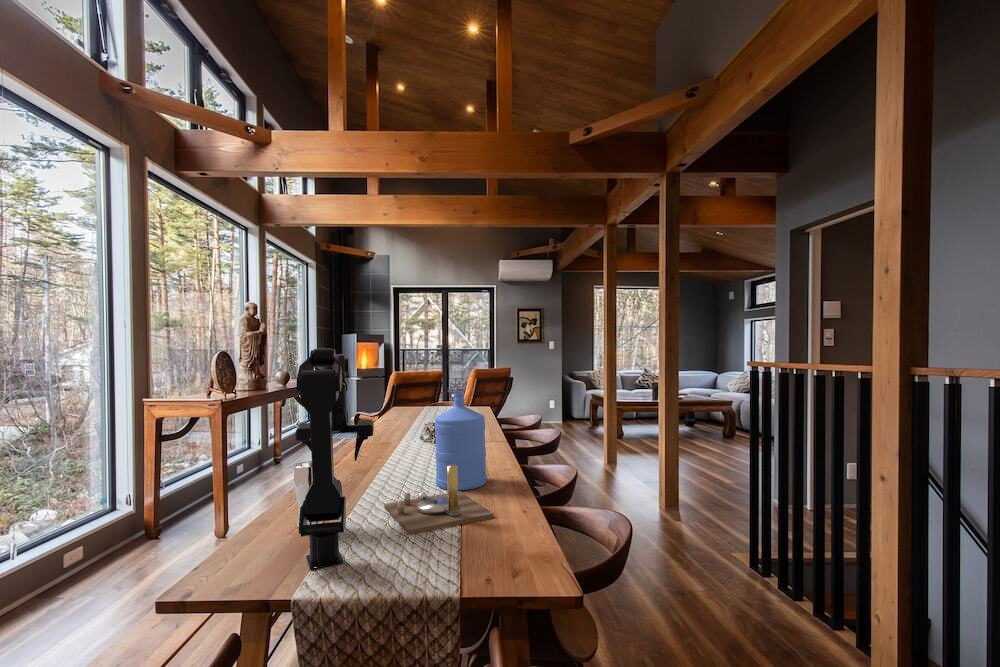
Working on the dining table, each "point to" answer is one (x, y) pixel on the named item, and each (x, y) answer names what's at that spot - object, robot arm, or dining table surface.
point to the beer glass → (302, 485)
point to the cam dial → (442, 504)
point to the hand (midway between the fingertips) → (337, 461)
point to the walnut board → (422, 522)
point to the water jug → (461, 445)
